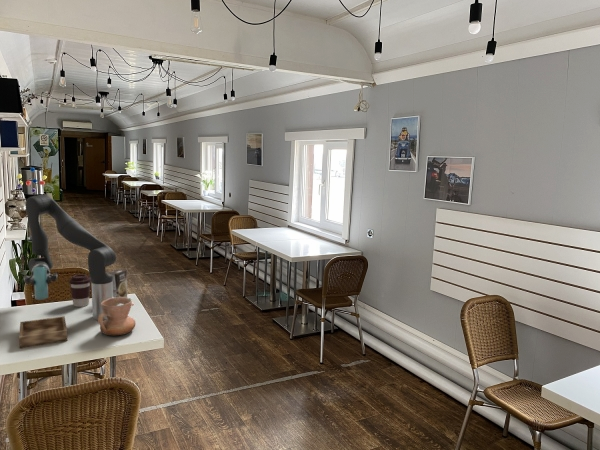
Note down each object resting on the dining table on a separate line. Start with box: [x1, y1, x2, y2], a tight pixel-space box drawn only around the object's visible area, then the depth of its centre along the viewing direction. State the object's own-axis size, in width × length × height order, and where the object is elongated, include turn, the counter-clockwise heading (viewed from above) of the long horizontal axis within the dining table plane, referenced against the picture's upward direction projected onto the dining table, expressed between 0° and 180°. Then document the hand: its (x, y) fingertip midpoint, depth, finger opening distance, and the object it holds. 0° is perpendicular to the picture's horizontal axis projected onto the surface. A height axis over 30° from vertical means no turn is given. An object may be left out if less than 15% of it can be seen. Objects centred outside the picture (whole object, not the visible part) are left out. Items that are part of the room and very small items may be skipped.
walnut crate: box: [18, 316, 68, 349], centre depth 197 cm, size 17×18×4 cm
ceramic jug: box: [97, 296, 136, 336], centre depth 203 cm, size 18×14×14 cm
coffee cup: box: [68, 273, 91, 308], centre depth 235 cm, size 10×10×15 cm
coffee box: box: [107, 268, 128, 298], centre depth 242 cm, size 9×6×16 cm
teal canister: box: [33, 266, 49, 300], centre depth 208 cm, size 5×5×14 cm
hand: (40, 282), depth 205 cm, fingers closed on teal canister, 5 cm apart
